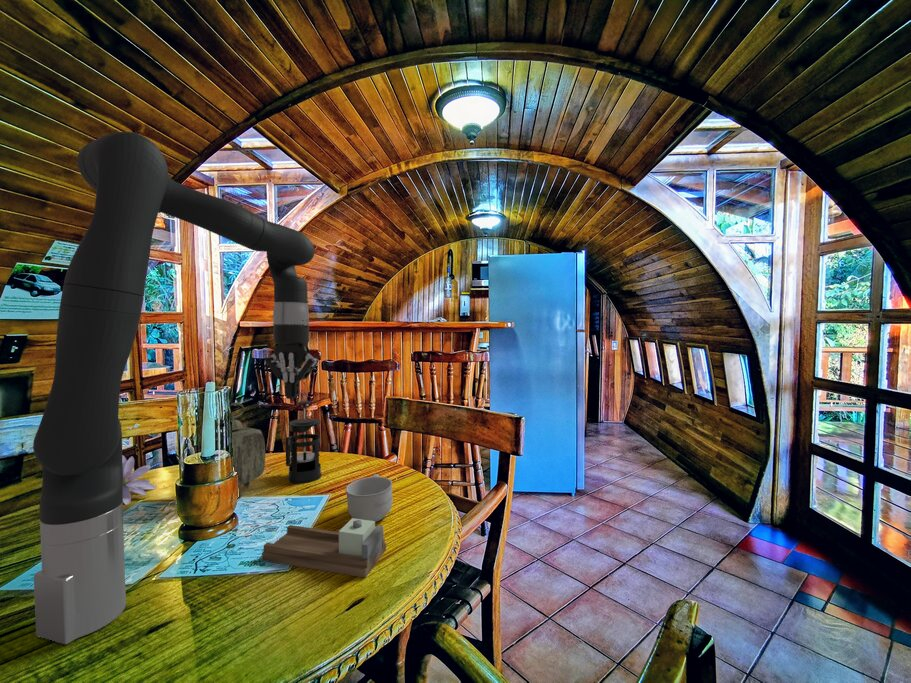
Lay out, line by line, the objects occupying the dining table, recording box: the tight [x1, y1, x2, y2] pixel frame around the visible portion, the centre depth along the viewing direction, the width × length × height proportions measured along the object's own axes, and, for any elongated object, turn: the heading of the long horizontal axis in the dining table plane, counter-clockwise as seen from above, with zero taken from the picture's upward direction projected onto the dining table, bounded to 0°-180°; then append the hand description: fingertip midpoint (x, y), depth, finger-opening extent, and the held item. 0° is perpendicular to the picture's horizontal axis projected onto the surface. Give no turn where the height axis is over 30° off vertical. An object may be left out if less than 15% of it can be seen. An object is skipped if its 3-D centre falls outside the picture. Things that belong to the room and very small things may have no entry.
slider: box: [338, 517, 376, 557], centre depth 76 cm, size 5×5×6 cm
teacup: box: [345, 474, 393, 523], centre depth 95 cm, size 14×11×8 cm
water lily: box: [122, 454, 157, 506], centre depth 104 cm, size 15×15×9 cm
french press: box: [285, 400, 322, 485], centre depth 117 cm, size 12×9×23 cm
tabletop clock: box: [230, 402, 266, 499], centre depth 104 cm, size 14×9×25 cm, turn 152°
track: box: [261, 524, 387, 578], centre depth 78 cm, size 9×22×6 cm, turn 77°
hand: (292, 398), depth 90 cm, fingers closed
